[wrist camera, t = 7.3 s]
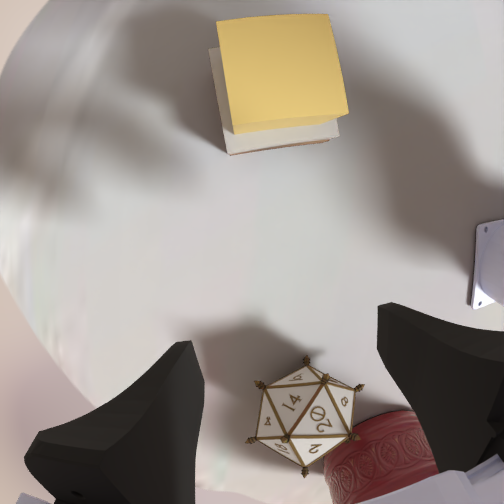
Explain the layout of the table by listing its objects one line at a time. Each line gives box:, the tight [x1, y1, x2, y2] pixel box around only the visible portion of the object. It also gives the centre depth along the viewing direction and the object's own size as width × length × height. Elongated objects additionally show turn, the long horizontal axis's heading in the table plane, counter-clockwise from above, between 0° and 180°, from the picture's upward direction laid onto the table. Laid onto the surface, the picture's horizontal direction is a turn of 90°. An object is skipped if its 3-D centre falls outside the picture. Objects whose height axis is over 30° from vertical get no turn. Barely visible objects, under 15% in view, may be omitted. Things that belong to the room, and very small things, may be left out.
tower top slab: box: [208, 47, 340, 155], centre depth 15 cm, size 6×6×2 cm
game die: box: [245, 355, 365, 478], centre depth 20 cm, size 9×8×10 cm
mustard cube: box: [216, 14, 349, 135], centre depth 12 cm, size 4×4×4 cm
